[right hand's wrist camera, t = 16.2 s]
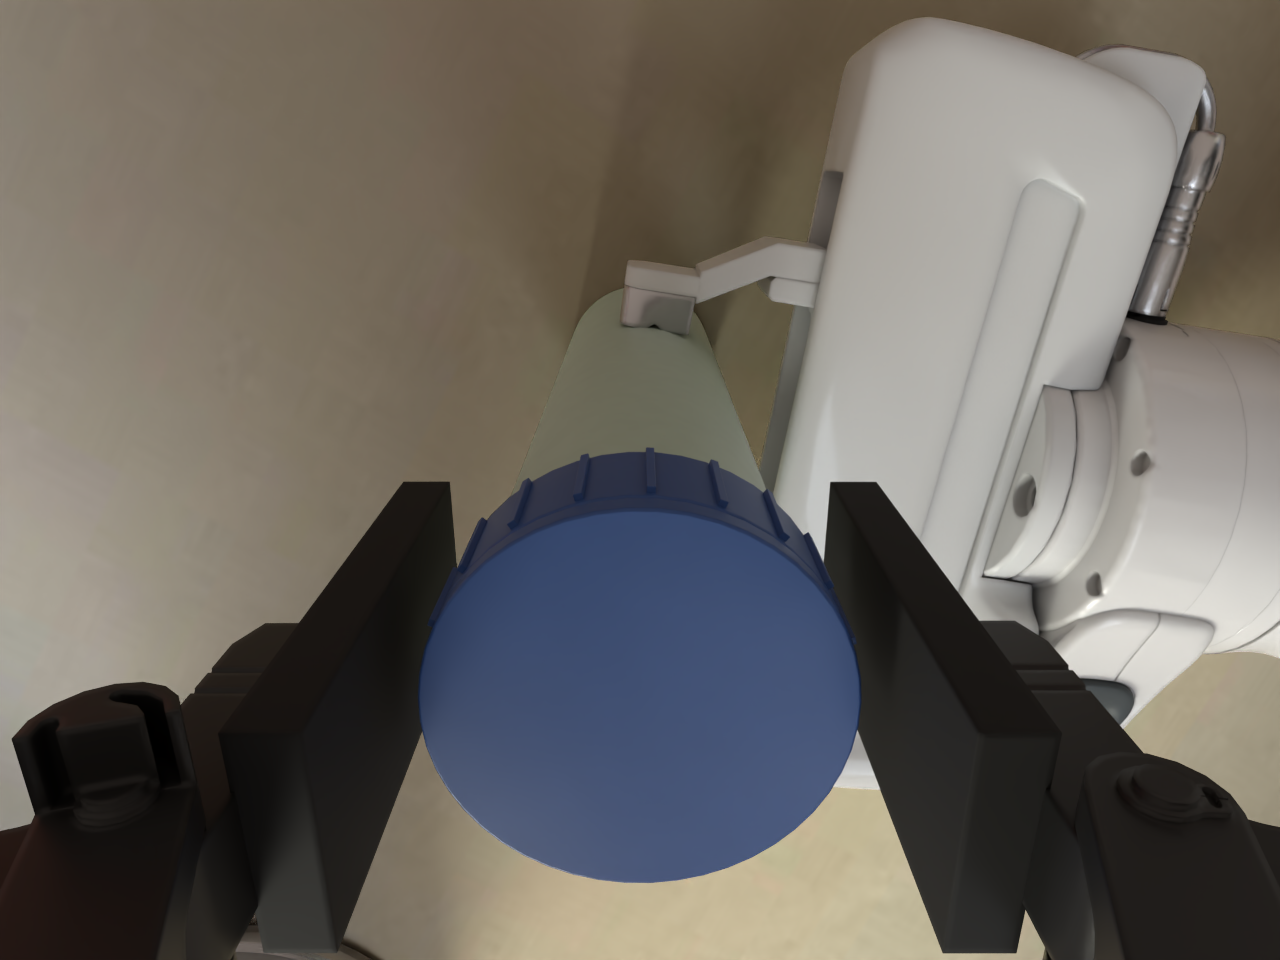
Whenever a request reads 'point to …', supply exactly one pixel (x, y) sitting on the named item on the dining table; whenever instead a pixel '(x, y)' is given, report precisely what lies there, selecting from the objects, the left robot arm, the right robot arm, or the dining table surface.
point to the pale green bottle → (638, 398)
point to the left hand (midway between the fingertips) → (606, 406)
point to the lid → (639, 671)
